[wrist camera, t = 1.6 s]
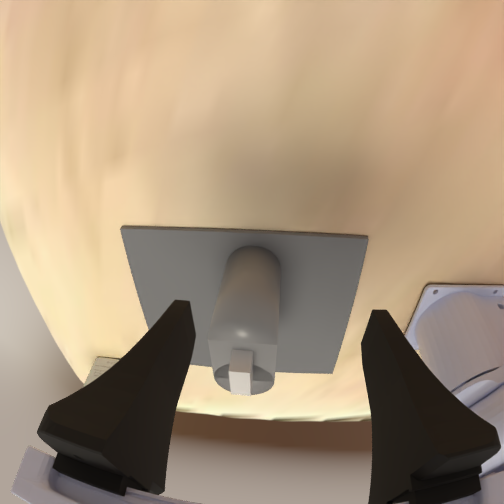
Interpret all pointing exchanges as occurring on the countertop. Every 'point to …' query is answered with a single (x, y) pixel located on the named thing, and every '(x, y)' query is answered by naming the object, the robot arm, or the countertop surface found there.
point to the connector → (246, 322)
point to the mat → (291, 284)
